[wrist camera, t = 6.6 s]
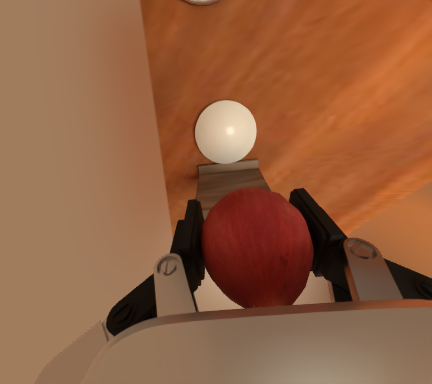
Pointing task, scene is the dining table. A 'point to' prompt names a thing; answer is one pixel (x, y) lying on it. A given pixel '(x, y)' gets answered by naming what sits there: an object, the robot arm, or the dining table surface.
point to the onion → (257, 248)
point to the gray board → (226, 181)
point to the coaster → (225, 132)
